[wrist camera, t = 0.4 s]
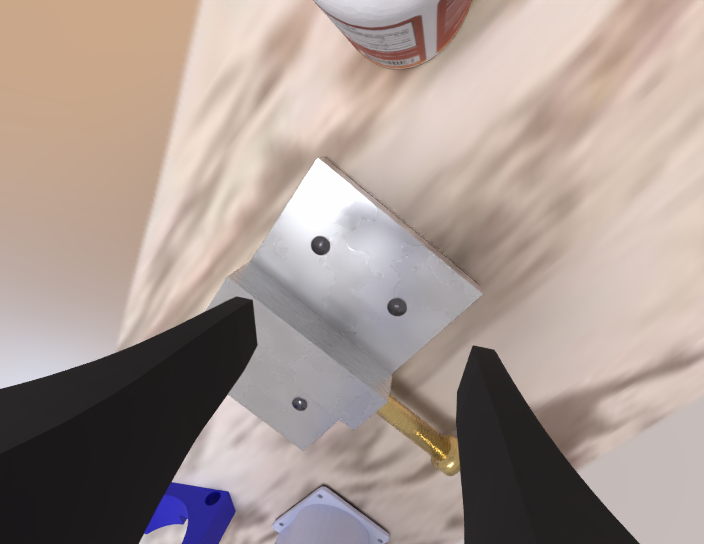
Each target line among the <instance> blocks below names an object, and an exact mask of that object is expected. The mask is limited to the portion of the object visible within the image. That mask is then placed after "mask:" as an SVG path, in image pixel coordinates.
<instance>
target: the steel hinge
mask: <svg viewBox="0 0 704 544" xmlns="http://www.w3.org/2000/svg"><path fill="white" fill-rule="evenodd" d="M482 295H483V293H482V290H481V287H480V285H479V284H477V283H476V282H475V281H474V280H473V279H471V278H470V277H469V276H468V275H467V274H465V273H464V272H463V271H462V270H460V269H459V268H458V267H457V266H456V265H454V264H453V263H452V262H451V261H450V260H448V259H447V258H446V257H445V256H444V255H442V254H441V253H440V252H439V251H437V250H436V249H435V248H434V247H433V246H431V245H430V244H429V243H428V242H427V241H425V240H424V239H423V238H422V237H421V236H419V235H418V234H417V233H416V232H414V231H413V230H412V229H411V228H410V227H408V226H407V225H406V224H405V223H404V222H402V221H401V220H400V219H399V218H398V217H396V216H395V215H394V214H393V213H392V212H390V211H389V210H388V209H387V208H385V207H384V206H383V205H382V204H381V203H379V202H378V201H377V200H376V199H375V198H373V197H372V196H371V195H370V194H369V193H367V192H366V191H365V190H364V189H362V188H361V187H360V186H359V185H358V184H356V183H355V182H354V181H353V180H352V179H350V178H349V177H348V176H347V175H346V174H344V173H343V172H342V171H341V170H339V169H338V168H337V167H336V166H335V165H333V164H332V163H331V162H330V161H329V160H327V159H326V158H325V157H321V158H317V160H316V161H315V163H314V165H313V166H312V168H311V169H310V171H309V172H308V174H307V175H306V177H305V178H304V180H303V181H302V183H301V185H300V186H299V188H298V189H297V191H296V192H295V194H294V195H293V197H292V198H291V200H290V201H289V203H288V205H287V206H286V208H285V209H284V211H283V212H282V214H281V215H280V217H279V218H278V220H277V221H276V223H275V225H274V226H273V228H272V229H271V231H270V232H269V234H268V235H267V237H266V238H265V240H264V241H263V243H262V245H261V246H260V248H259V249H258V251H257V252H256V254H255V255H254V257H253V258H252V260H251V261H250V262H249V263H247V264H246V265H244V266H243V267H241V268H240V269H238V270H237V271H235V272H234V273H232V274H231V275H229V276H228V277H227V278H226V280H225V281H224V283H223V284H222V286H221V288H220V289H219V291H218V292H217V294H216V296H215V297H214V299H213V300H212V302H211V304H210V305H209V307H208V308H207V310H209V309H211V308H213V307H215V306H217V305H219V304H221V303H223V302H225V301H227V300H229V299H232V298H234V297H236V296H237V297H242V298H247V299H252V300H253V306H254V315H255V325H256V334H257V344H258V346H257V348H256V350H255V351H254V353H253V355H252V357H251V359H250V361H249V363H248V365H247V367H246V368H245V370H244V372H243V373H242V375H241V376H240V378H239V379H238V380H237V382H236V383H235V385H234V386H233V388H232V389H231V390H230V392H229V393H228V395H229V396H231V397H232V398H233V399H235V400H236V401H237V402H239V403H240V404H241V405H243V406H244V407H245V408H247V409H248V410H249V411H251V412H252V413H253V414H255V415H256V416H257V417H259V418H260V419H261V420H263V421H264V422H265V423H267V424H268V425H269V426H270V427H272V428H273V429H274V430H276V431H277V432H278V433H280V434H281V435H282V436H284V437H285V438H286V439H288V440H289V441H290V442H292V443H293V444H294V445H296V446H297V447H298V448H300V449H301V450H302V451H304V450H305V449H306V448H307V447H308V446H310V445H311V444H312V443H313V442H314V441H315V440H317V439H318V438H319V437H320V436H321V435H322V434H323V433H325V432H326V431H327V430H328V429H329V428H330V427H331V426H333V425H334V424H335V423H336V422H337V421H338V420H339V419H340V420H341V421H342V422H343V423H345V424H346V425H347V426H349V427H350V428H351V429H353V430H354V429H356V428H357V427H358V426H359V425H361V424H362V423H363V422H364V421H365V420H367V419H368V418H369V417H370V416H372V415H373V414H374V413H375V412H376V411H378V410H379V409H380V408H381V407H382V406H384V405H385V404H386V403H387V402H388V399H389V393H390V388H391V382H392V376H393V372H394V371H396V370H397V369H398V368H399V367H400V366H401V365H403V364H404V363H405V362H406V361H407V360H408V359H409V358H411V357H412V356H413V355H414V354H415V353H416V352H417V351H419V350H420V349H421V348H422V347H423V346H424V345H425V344H427V343H428V342H429V341H430V340H431V339H432V338H433V337H435V336H436V335H437V334H438V333H439V332H440V331H442V330H443V329H444V328H445V327H446V326H447V325H448V324H450V323H451V322H452V321H453V320H454V319H455V318H456V317H458V316H459V315H460V314H461V313H462V312H463V311H464V310H466V309H467V308H468V307H469V306H470V305H471V304H472V303H474V302H475V301H476V300H477V299H478V298H479V297H480V296H482ZM207 310H206V311H207Z"/></svg>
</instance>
